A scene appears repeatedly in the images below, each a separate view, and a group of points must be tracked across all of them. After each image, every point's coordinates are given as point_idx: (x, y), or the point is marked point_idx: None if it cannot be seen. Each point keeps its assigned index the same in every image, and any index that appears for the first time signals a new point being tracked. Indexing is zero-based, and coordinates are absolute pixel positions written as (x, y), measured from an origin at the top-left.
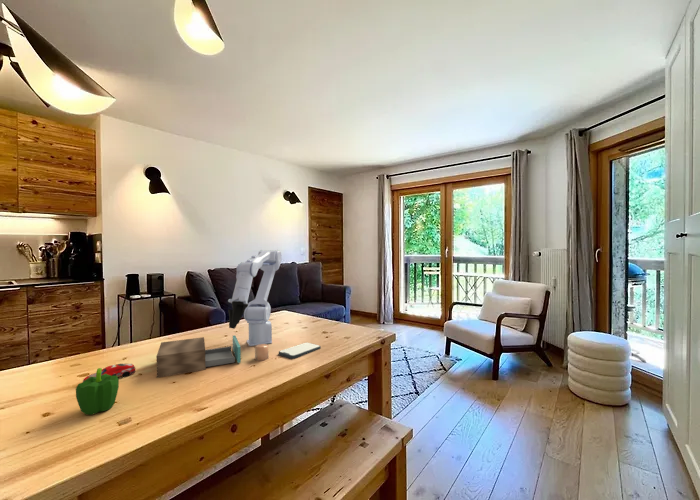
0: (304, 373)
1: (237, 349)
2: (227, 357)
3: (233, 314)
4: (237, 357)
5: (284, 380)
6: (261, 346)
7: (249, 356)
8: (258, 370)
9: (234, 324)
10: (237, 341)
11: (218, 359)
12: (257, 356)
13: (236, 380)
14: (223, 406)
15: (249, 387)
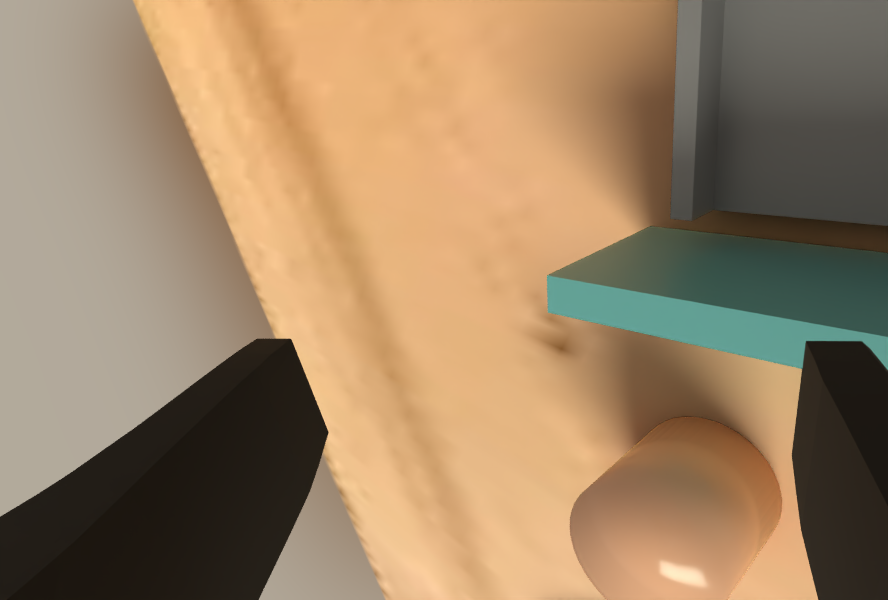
0: (345, 505)
1: (581, 268)
2: (688, 129)
3: (111, 453)
4: (641, 242)
5: None
6: (628, 547)
7: None
8: (454, 328)
9: (819, 516)
10: None
11: (678, 5)
12: (644, 441)
13: (357, 144)
14: (165, 44)
15: (275, 196)
